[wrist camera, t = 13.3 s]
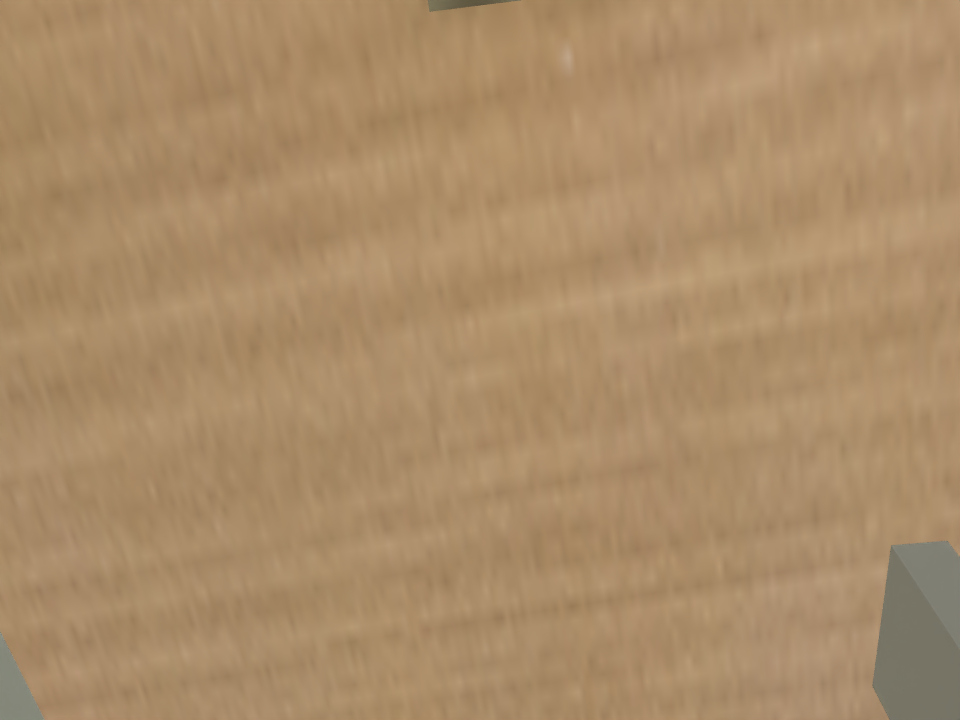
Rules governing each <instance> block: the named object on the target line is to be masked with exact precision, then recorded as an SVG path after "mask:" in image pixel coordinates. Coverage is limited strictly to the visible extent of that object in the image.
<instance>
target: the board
mask: <svg viewBox="0 0 960 720" xmlns="http://www.w3.org/2000/svg"><path fill="white" fill-rule="evenodd" d="M511 1H519V0H428V4H429V11H430V12H431V11H439V10H447V9H455V8H463V7H471V6H479V5H487V4H495V3H503V2H511Z"/></svg>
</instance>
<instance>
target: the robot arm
mask: <svg viewBox="0 0 960 720" xmlns="http://www.w3.org/2000/svg"><path fill="white" fill-rule="evenodd" d="M872 686H873V688H874V690H875V692H876V694H877V696H878V698H879V700H880V702H881V704H882V706H883V708H884V710H885V711H886V713H887V715H888V717H889V719H890V720H960V557H959V555H958V554H957V553H956V551H955V550H954V549H953V547H952V546H951V545H950V544H949V542H948V541H939V542H927V543H915V544H902V545H891V550H890V558H889V565H888V573H887V580H886V588H885V595H884V603H883V610H882V618H881V625H880V633H879V640H878V648H877V655H876V663H875V670H874V678H873V685H872ZM0 720H44V718H43V716H42V714H41V712H40V710H39V708H38V706H37V704H36V702H35V700H34V698H33V696H32V694H31V692H30V690H29V688H28V686H27V684H26V682H25V680H24V678H23V676H22V674H21V672H20V670H19V668H18V666H17V664H16V662H15V660H14V658H13V656H12V654H11V652H10V650H9V648H8V646H7V644H6V642H5V640H4V638H3V636H2V634H1V632H0Z"/></svg>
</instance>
